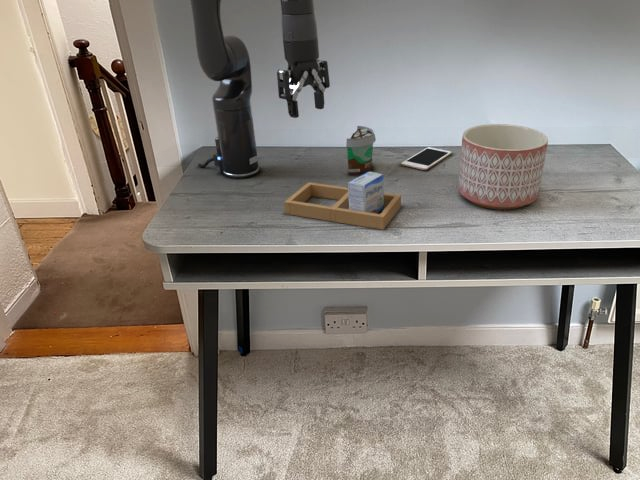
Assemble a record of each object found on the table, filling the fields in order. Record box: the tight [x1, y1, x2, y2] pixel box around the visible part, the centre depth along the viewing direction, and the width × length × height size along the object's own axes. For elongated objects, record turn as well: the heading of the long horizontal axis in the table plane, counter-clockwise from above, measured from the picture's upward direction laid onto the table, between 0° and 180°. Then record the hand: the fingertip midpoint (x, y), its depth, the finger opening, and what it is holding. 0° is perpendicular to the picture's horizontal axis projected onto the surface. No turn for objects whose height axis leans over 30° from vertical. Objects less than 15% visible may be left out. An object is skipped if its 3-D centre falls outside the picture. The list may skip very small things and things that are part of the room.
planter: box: [458, 123, 549, 210], centre depth 130 cm, size 19×19×15 cm
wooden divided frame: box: [284, 181, 402, 230], centre depth 126 cm, size 24×12×3 cm, turn 71°
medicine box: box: [347, 171, 385, 214], centre depth 123 cm, size 8×4×9 cm, turn 148°
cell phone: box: [401, 146, 452, 171], centre depth 155 cm, size 8×16×1 cm, turn 148°
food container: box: [345, 125, 376, 176], centre depth 146 cm, size 12×6×10 cm, turn 168°
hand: (307, 112), depth 127 cm, fingers open, 8 cm apart
